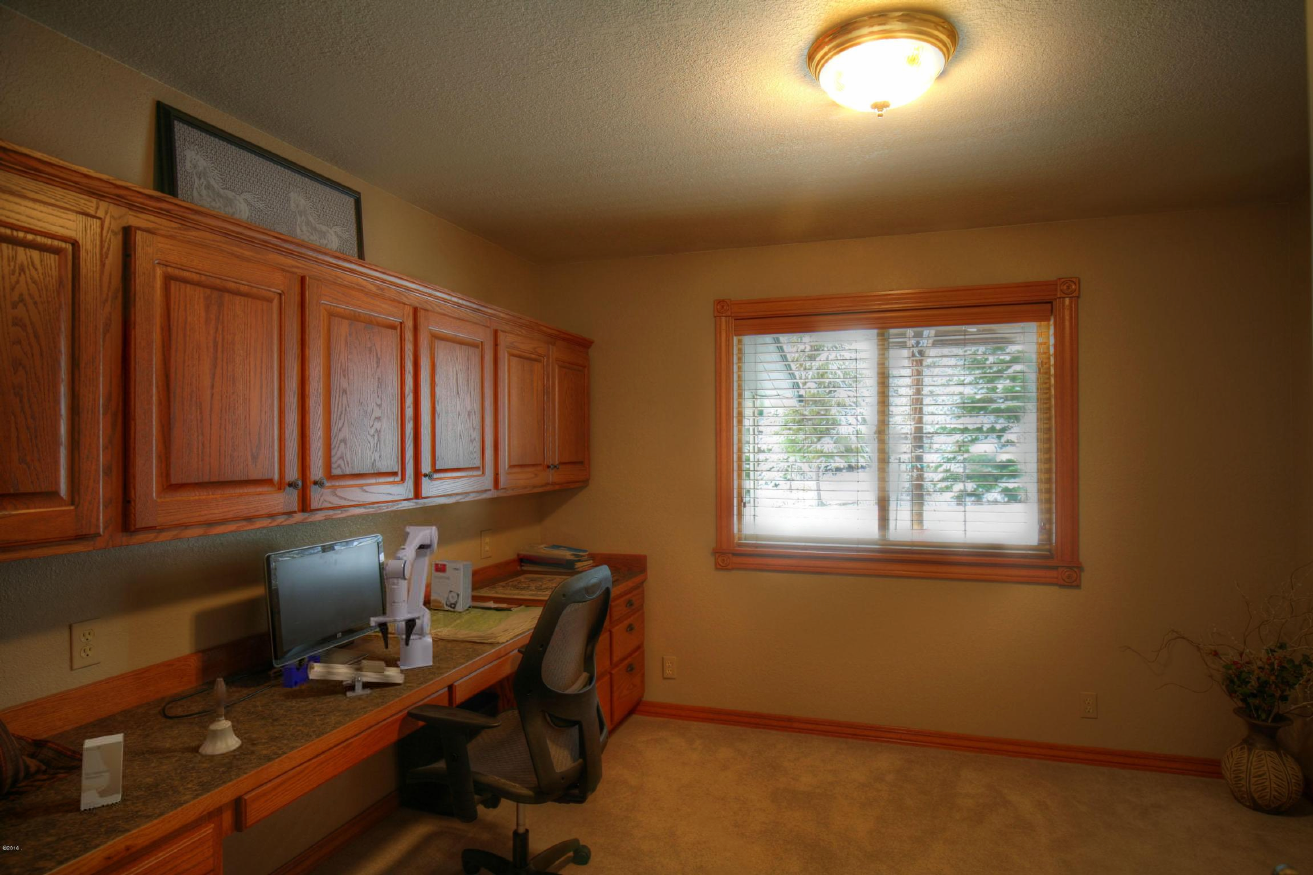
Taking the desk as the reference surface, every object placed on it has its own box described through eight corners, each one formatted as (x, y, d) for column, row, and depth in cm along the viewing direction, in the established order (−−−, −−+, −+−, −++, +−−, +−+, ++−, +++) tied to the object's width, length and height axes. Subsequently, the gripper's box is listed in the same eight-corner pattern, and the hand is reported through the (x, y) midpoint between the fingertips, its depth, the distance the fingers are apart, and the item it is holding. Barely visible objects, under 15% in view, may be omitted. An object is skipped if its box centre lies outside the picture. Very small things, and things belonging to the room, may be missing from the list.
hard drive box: (429, 610, 289) (430, 562, 289) (440, 605, 296) (441, 559, 296) (461, 613, 284) (461, 564, 284) (472, 608, 291) (472, 561, 291)
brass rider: (380, 671, 203) (383, 661, 204) (383, 676, 199) (385, 665, 200) (359, 670, 200) (361, 660, 201) (361, 675, 196) (363, 664, 197)
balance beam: (398, 675, 207) (400, 665, 207) (402, 682, 201) (405, 673, 201) (307, 670, 195) (309, 660, 195) (309, 678, 189) (311, 668, 189)
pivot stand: (365, 681, 204) (365, 664, 204) (370, 692, 195) (370, 675, 195) (342, 684, 201) (342, 667, 201) (347, 696, 192) (347, 678, 192)
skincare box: (79, 812, 132) (80, 747, 132) (81, 802, 136) (82, 739, 136) (122, 801, 136) (122, 739, 136) (123, 792, 140) (123, 731, 140)
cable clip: (307, 673, 211) (307, 653, 211) (320, 674, 210) (320, 654, 210) (278, 687, 199) (278, 666, 199) (292, 688, 198) (292, 667, 198)
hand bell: (199, 759, 154) (200, 687, 154) (197, 745, 161) (198, 677, 161) (242, 749, 159) (243, 680, 159) (239, 736, 166) (239, 670, 166)
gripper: (372, 606, 196) (372, 654, 196) (425, 600, 204) (425, 646, 203) (369, 601, 202) (368, 647, 202) (420, 595, 210) (420, 640, 210)
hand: (396, 646), depth 203 cm, fingers open, 5 cm apart
